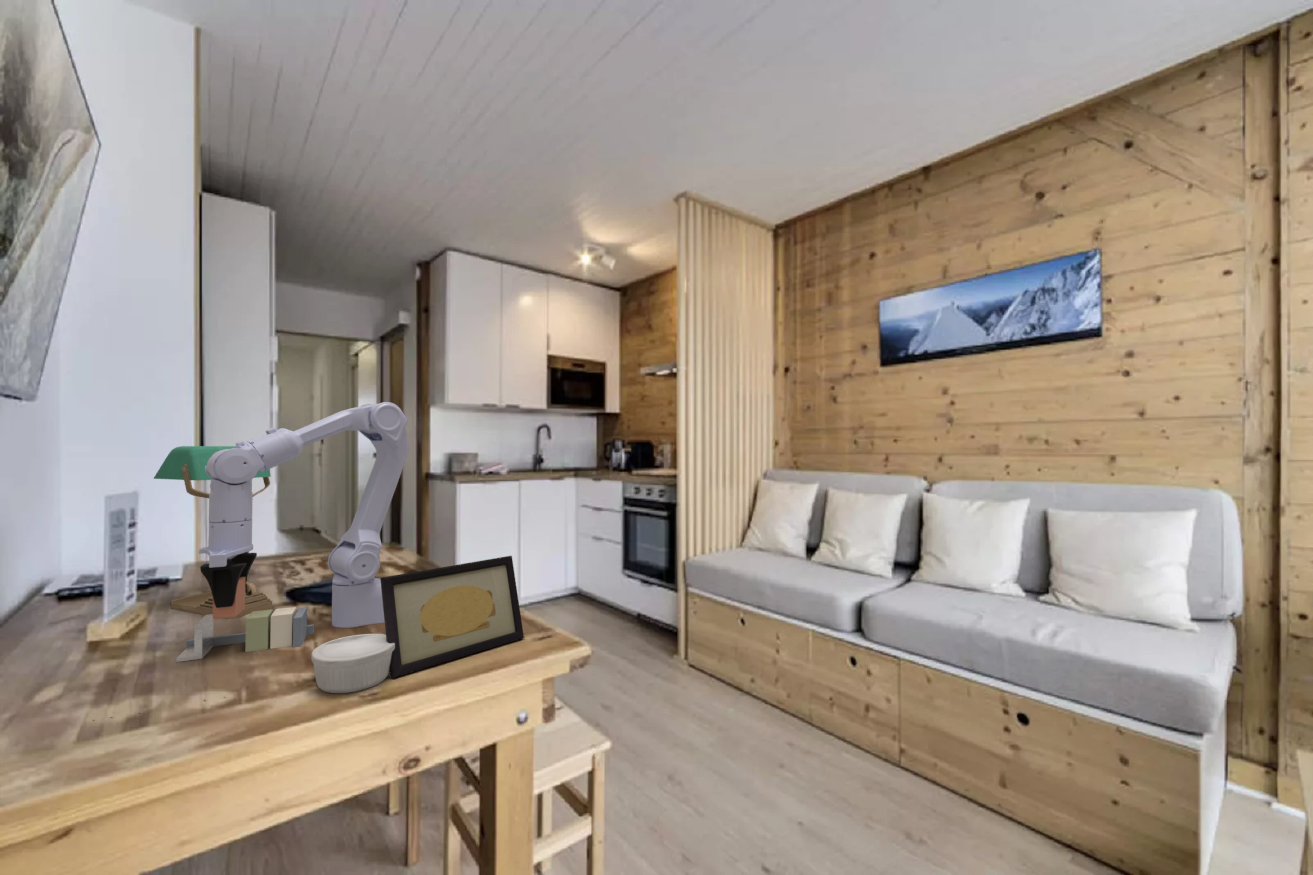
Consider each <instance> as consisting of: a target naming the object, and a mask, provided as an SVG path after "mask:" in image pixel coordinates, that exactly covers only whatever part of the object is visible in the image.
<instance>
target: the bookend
mask: <svg viewBox="0 0 1313 875" xmlns="http://www.w3.org/2000/svg"><path fill="white" fill-rule="evenodd" d="M193 635H194V637H193V639H194V646H189V647H187V646H186V648H185V649H184V650H183V651H182V652H181V653H180V654H178V656H177V657H176V658H175V662H176V663H180V662H188V661H194V660H202V659H204V658H205V656H206V655H207V654H208V653H209V652H210V651H211V649H212V648H214V646H213V636H214V619H213V614H210V615H203V617H201V619H200V620H198V621H197V622H196V623H195V624H194V634H193Z"/></svg>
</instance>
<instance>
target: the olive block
mask: <svg viewBox="0 0 1313 875" xmlns="http://www.w3.org/2000/svg"><path fill="white" fill-rule="evenodd" d="M273 613H274V609H272V608H270V609H266V610H262V611H253V612H252V613H251V614H248V616H247V617H246V618H245V633H246V642H245V648H244V651H245V653H249V652H256V651H263V650H268V649H269V648H270V638H271V615H272V614H273Z"/></svg>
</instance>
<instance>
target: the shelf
mask: <svg viewBox="0 0 1313 875" xmlns="http://www.w3.org/2000/svg"><path fill="white" fill-rule="evenodd" d="M314 633H315V624H314V623H312V624H308V606H305V607H304V606H303V607H299V608H297V611H296V614H295V616H294V618H293V644H292V648H300V647H302V646H303V644H304V641H305V639H306V637H307V636H308V635H313V634H314ZM241 643H242V644H243V643H246V632H241V633H240V632H239V633H230V634H224V635H223V634H222V635H213V647H218V646H220V647H221V646H226V645H227V646H228V645H236V644H241ZM189 646H194V638H189V639H187V640H186V648H187V647H189Z"/></svg>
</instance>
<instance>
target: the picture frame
mask: <svg viewBox="0 0 1313 875" xmlns="http://www.w3.org/2000/svg"><path fill="white" fill-rule="evenodd" d="M379 579H380V580H381V591H382V601H383V611H384V621H385V622H384V630H385V631H384V632H385V635H386V642H388V643H395V649H394V650H393V651H392V656H391V662H390V673H389V678H390V679H395V678H398V677H401V676H403V675H404V676H405V675H407V674H410V673H413V672H417V671H420V670H424V669H426V668H430V667H434V666H437V665H440V664H443V663H446V662H451V661H452V660H457V659H459V658H463V657H467V656H470V655H472V654H476V653H479V652H483V651H486V650H489V649H492V648H493V649H494V648H496V647H498V646H502V645H505V644H509V643H512V642H516V641H519V640H522V639H524V638H525V635H524V629H523V622H522V615H521V609H520V601H519V596H518V588H517V581H516V576H515V568H514V561H513V555H507V556H499V557H496V558H489V559H488V558H487V559H484V560H478V561H472V562H466V563H459V564H455V565H448V566H443V567H437V568H430V569H425V570H419V571H412V572H406V573H402V574H395V575H388V576H383V577H382V576H381V577H379Z"/></svg>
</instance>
